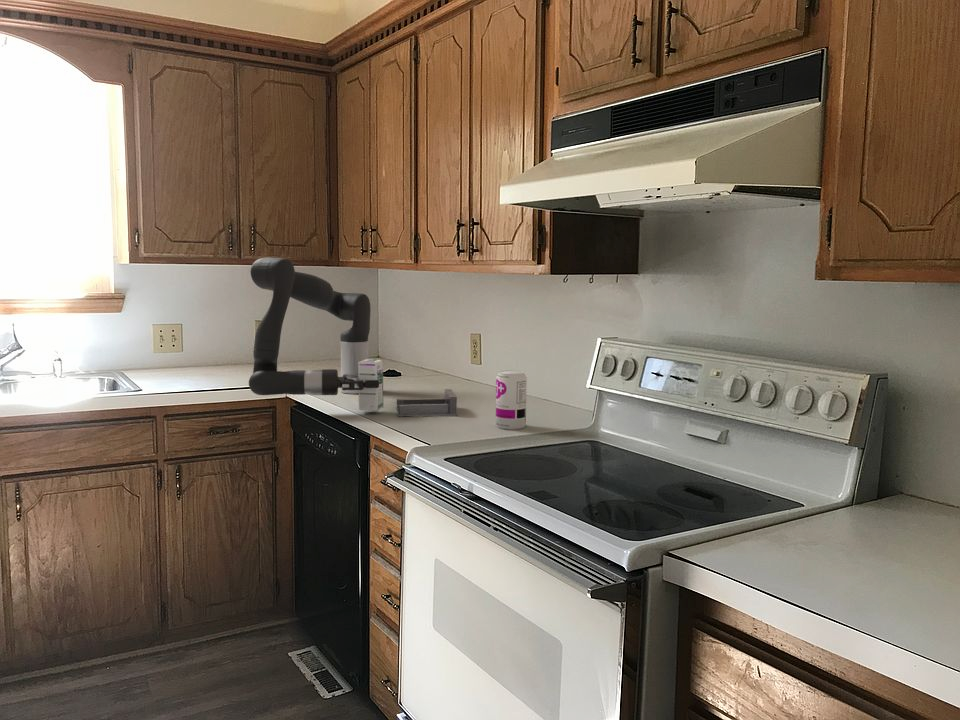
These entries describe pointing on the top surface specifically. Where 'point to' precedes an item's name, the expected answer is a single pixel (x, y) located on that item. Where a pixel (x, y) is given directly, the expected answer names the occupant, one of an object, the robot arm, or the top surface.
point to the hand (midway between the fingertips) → (378, 381)
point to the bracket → (429, 406)
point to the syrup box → (371, 396)
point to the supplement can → (511, 399)
